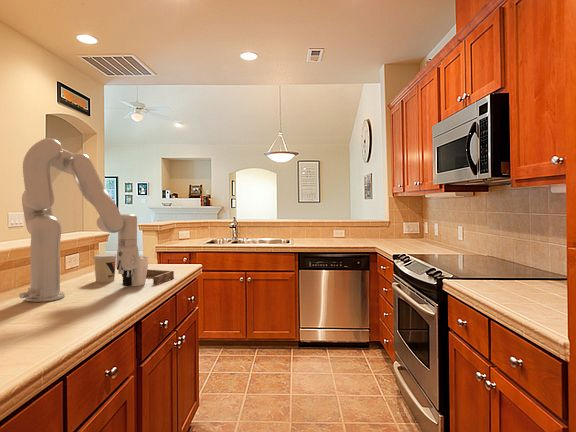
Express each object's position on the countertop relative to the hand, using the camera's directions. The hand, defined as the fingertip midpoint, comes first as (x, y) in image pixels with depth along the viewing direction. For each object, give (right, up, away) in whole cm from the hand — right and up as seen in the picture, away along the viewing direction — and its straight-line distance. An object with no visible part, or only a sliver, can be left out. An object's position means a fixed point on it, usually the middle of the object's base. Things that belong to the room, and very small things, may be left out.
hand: (127, 285), depth 170 cm
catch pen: (+4, 0, +17) cm, 17 cm away
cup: (+1, -1, +7) cm, 8 cm away
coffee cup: (-16, 0, +13) cm, 20 cm away
